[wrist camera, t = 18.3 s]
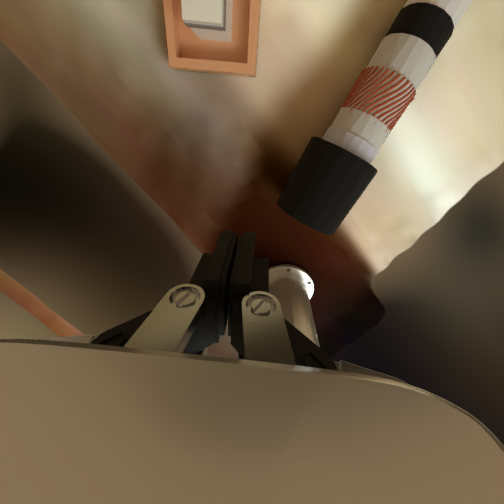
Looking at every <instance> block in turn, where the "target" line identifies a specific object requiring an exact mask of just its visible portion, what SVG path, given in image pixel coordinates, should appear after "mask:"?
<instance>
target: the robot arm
mask: <svg viewBox="0 0 504 504" xmlns="http://www.w3.org/2000/svg"><path fill="white" fill-rule="evenodd" d="M255 238H256V233H251V232H245V235H243V234H241V236H240V240H239V244H238V248H237V240H238V234H234V231H231V230H222V232H221V235H220V237H219V240H218V242H217V245H216V247H215V250H214V252H213V254H209V253H204V254H203V255H202V257H201V260H200V262H199V264H198V266H197V268H196V270H195V272H194V274H193V276H192V278H191V281H190V283H189V284H182V285H179V286H176V287H174V288H172V289H171V290H170V291H169V292H168V293H167V294H166V295H165V296H164V298H163V299H162V300H161V301H160V302H159V304H158V305H157V306H156V308H155V309H154V310H152V311H149V312H147V313H145V314H143V315H141V316H139V317H136V318H134V319H132V320H129V321H127V322H125V323H123V324H120V325H118V326H116V327H114V328H112V329H109V330H107V331H105V332H104V333H102V334H100V335H99V336H98V337H95V336H94V335H93V334H91V335H79V336H68V337H57V338H47V339H0V504H504V445H503V444H502V443H501V442H500V441H499V440H498V439H497V438H496V437H495V435H494V434H492V433H491V431H489V430H488V429H487V428H486V427H485V426H484V425H483V424H482V423H481V422H480V421H478V420H477V419H476V418H474V417H473V416H472V415H470V414H469V413H468V412H466V411H464V410H463V409H461V408H459V407H458V406H456V405H454V404H452V403H450V402H449V401H447V400H445V399H443V398H440V397H438V396H436V395H434V394H432V393H429V392H427V391H425V390H422V389H419V388H417V387H414V386H411V385H408V384H407V383H406V382H404V381H402V380H399V379H397V378H394V377H391V376H388V375H385V374H382V373H379V372H376V371H372V370H369V369H366V368H363V367H360V366H357V365H353V364H350V363H347V362H344V361H341V362H340V363H337V362H334V361H333V360H332V358H331V357H330V356H329V355H328V354H327V353H326V352H324V351H323V350H322V349H321V348H320V347H319V343H318V338H317V333H316V329H315V324H314V319H313V315H312V310H311V306H310V301H309V300H310V298H311V297H312V295H313V292H314V284H313V280H312V278H311V276H310V275H309V274H308V273H307V272H306V271H305V270H304V269H302V268H300V267H298V266H294V265H289V264H282V265H276V266H273V267H270V268H269V259H260V258H254V249H255ZM227 320H228V336H231V345H232V346H233V347H234V348H235V349H236V350H237V352H238V359H234V358H224V357H215V356H206V353H207V347H208V346H210V345H211V344H213V343H214V342H216V343H218V341H219V337H220V335H224V334H225V330H226V325H227Z"/></svg>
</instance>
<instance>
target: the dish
mask: <svg viewBox="0 0 504 504" xmlns="http://www.w3.org/2000/svg"><path fill="white" fill-rule="evenodd" d="M163 4H164V15H165V26H166V36H167V47H168V58H169V67H171V68H173V69H175V70H179V71H191V72H203V73H214V74H226V75H237V76H249V77H256V65H257V50H258V35H259V20H260V5H261V0H233V9H232V39H231V42H222V41H213V40H204V39H200V38H199V37H198V36H197V35H196V34H195V33H194V32H193V31H192V29H191V28H190V27H187V26H186V25H185V24H184V21H183V20H182V5H181V0H163Z"/></svg>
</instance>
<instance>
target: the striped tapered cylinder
mask: <svg viewBox="0 0 504 504" xmlns="http://www.w3.org/2000/svg"><path fill="white" fill-rule="evenodd" d="M472 1H473V0H407V2H406V4H405V6H404V7H403V8H402V9H401V11H400V12H399V14H398V15H397V17H396V19H395V21H394V22H393V24H392V26H391V28H390V29H389V31H388V33H387V35H386V36H385V37H384V38H383V40H382V41H381V43H380V45H379V46H378V48H377V50H376V52H375V53H374V55H373V57H372V59H371V60H370V62H369V64H368V65H367V67H366V68H364V70H362V72H361V74H360V75H359V77H358V79H357V81H356V83H355V84H354V86H353V88H352V90H351V92H350V93H349V95H348V97H347V99H346V100H345V102H344V104H343V106H342V107H341V109H340V111H339V113H338V115H337V116H336V118H335V120H334V121H333V123H332V125H331V127H328V129H327V130H326V132H325V134H324V136H323V138H322V139H321V138H318V137H312V138H311V140H310V142H309V144H308V145H307V147H306V149H305V151H304V153H303V155H302V157H301V158H300V160H299V162H298V164H297V166H296V168H295V170H294V172H293V173H292V175H291V177H290V179H289V181H288V183H287V185H286V186H285V188H284V190H283V192H282V194H281V196H280V198H279V200H278V201H277V204H278V205H279V207H280V208H281V209H283V210H284V211H285V212H286V213H288V214H289V215H290V216H292V217H293V218H295V219H297V220H298V221H300V222H301V223H303V224H305V225H307V226H309V227H310V228H313V229H315V230H317V231H319V232H322V233H324V234H328V235H333V234H334V232H335V231H336V229H337V228H338V227H339V225H340V224H341V222H342V221H343V220H344V218H345V217H346V215H347V214H348V213H349V211H350V210H351V208H352V207H353V205H354V204H355V203H356V201H357V200H358V198H359V197H360V196H361V194H362V193H363V191H364V190H365V189H366V187H367V186H368V184H369V183H370V182H371V180H372V179H373V177H374V176H375V174H376V173H377V169H376V168H374V167H373V166H372V165H371V162H372V161H373V159H374V158H375V156H376V155H377V153H378V150H379V149H380V147H381V146H382V144H383V143H384V141H385V140H386V138H387V137H388V135H389V134H390V132H391V130H392V129H393V127H394V126H395V124H396V122H397V121H398V120H399V118H400V117H401V115H402V114H403V112H404V111H405V109H406V108H407V106H408V105H409V104H410V103H411V102H412V101H413V100H414V99H415V98H414V96H415V95H416V93H415V92H416V89H417V88H418V86H419V85H420V83H421V82H422V80H423V79H424V78H425V76H426V75H427V73H428V72H429V70H430V69H431V67H432V66H433V64H434V61H435V59H436V58H437V56H438V55H439V53H440V52H441V50H442V49H443V47H444V46H445V44H446V43H447V41H448V40H449V38H450V37H451V35H452V32H453V29H454V28H455V26H456V25H457V23H458V22H459V20H460V19H461V17H462V16H463V14H464V13H465V11H466V10H467V8H468V7H469V5H470V4H471V2H472Z"/></svg>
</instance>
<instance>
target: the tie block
mask: <svg viewBox="0 0 504 504" xmlns="http://www.w3.org/2000/svg"><path fill="white" fill-rule="evenodd" d="M181 5H182V20H183V21H184V24H185V25H186V26H187V27H190V28H191V29H192V31H193V32H194V33H195V34H196V35H197V36H198V37H199V38H200V39H204V40H213V41H222V42H231V39H232V9H233V0H181Z"/></svg>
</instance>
